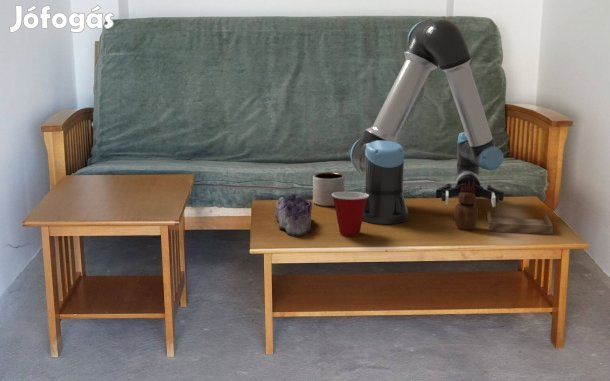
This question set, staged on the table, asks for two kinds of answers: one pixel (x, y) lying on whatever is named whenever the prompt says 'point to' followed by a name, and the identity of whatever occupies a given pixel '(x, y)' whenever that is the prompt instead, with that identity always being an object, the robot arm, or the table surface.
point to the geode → (294, 214)
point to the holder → (520, 225)
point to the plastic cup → (349, 211)
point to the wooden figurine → (466, 208)
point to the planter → (327, 187)
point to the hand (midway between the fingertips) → (470, 201)
